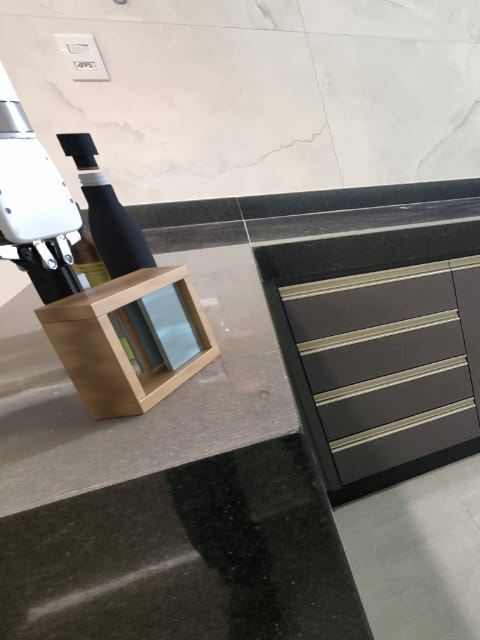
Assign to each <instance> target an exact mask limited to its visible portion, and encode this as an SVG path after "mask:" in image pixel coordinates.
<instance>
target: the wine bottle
mask: <svg viewBox="0 0 480 640" xmlns="http://www.w3.org/2000/svg"><path fill="white" fill-rule="evenodd" d="M55 136H56V139H57V141H58V144H59V145H60V147H61V150H62V151H63V154H64V155H65V157H66V158H67V157H72V160H73V162H74V164H75V167H76V170H77V171H79V172H81V171H95V170H97V171H99V170H100V166H99V165H98V163H97V161H96V158H95V156H99V155H100V154H99V152H98V149H97V147H96V144H95V142H94V140H93V137H92V135H91V133H90V132H69V133H65V132H64V133H56V134H55ZM77 176H78V177H77V179H78V180H80V182H79V183H80V184H81V185H82V186H80V190H81V192H82V194H83V197H84V199H85V201H86V203H87V215H88V216H87V217H88V228H89V230H90V232H91V236H92V239H93V242H94V244H95V246H96V248H97V250H98V252H99V254H100V257H101V259H102V261H103V263H104V265H105V267H106V270H107V272H108V274H109V276H110V278H111V280H114V279H117V278H119V277H122V276H124V275H127V274H130V273H132V272H135V271H138V270H140V269H143V268H155V267H158V264H157V262H156V259H155V258H154V257H155V256H154V255H153V253H152V250H151V248H150V245H149V243H148V241H147V239H146V235H145V233H144V231H143V230H142V228H141V227H140V225H139V224H138V223H137V221H136V220H135V218H134V216H133V215H131V214H130V212H129V211H128V210H127V208H125V207H124V205H122V203H121V202H120V200H119V199H118V196H117V194H116V192H115V188H114V187H113V185H112V184H110V183H108V182H109V180H108V179H107V178H106V177H107V175H106V174H104V172H88V173H87V172H86V173H77Z"/></svg>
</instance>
